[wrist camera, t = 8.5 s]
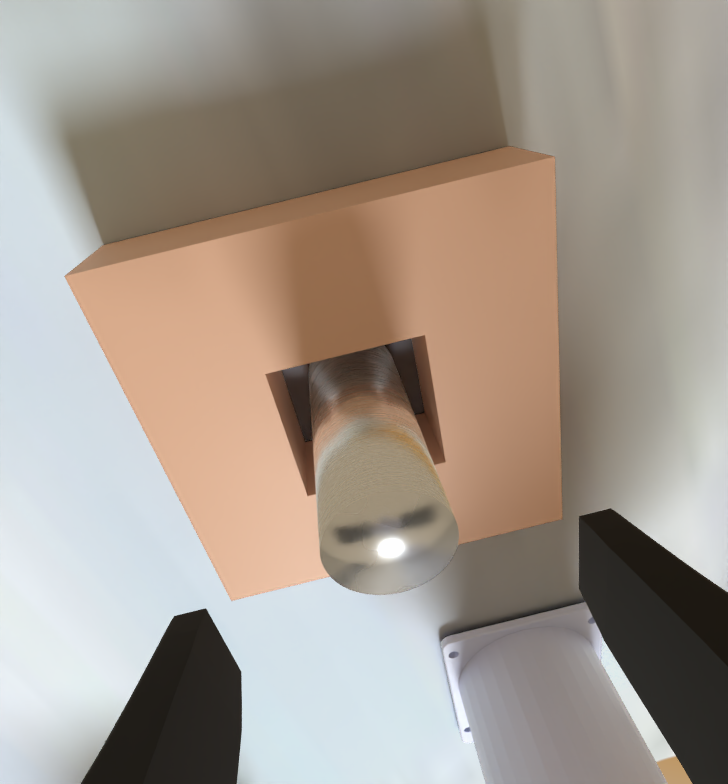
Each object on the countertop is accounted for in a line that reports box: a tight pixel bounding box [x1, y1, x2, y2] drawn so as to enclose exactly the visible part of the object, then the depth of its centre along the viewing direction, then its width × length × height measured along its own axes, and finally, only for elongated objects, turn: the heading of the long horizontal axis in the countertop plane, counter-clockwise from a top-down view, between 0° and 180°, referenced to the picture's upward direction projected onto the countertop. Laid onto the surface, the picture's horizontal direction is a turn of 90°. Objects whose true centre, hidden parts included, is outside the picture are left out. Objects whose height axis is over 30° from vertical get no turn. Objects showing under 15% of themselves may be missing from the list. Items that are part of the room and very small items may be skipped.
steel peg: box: [308, 345, 459, 595], centre depth 15 cm, size 3×3×8 cm
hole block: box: [65, 146, 562, 601], centre depth 17 cm, size 12×12×3 cm
